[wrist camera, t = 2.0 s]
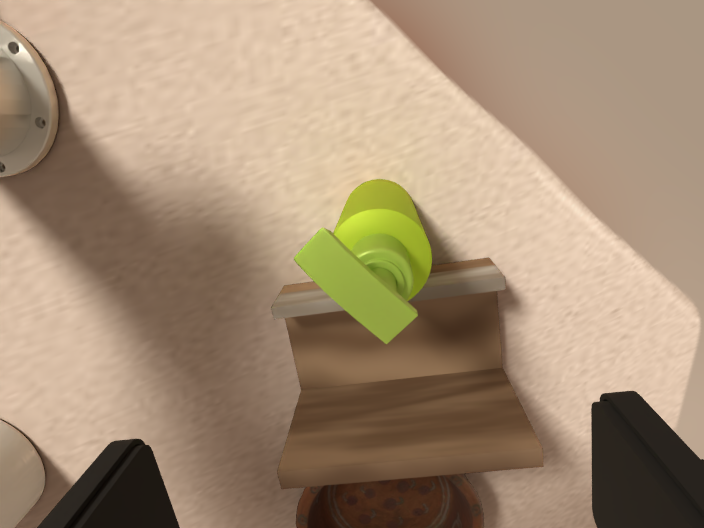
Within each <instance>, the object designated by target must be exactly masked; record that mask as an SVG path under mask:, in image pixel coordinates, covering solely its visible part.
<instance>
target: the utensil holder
mask: <svg viewBox="0 0 704 528" xmlns="http://www.w3.org/2000/svg"><path fill="white" fill-rule="evenodd" d="M44 486H45V471H44V467H43V464H42V461H41V458H40V456H39V455H38V453H37V451H36V450H35V448H34V447H33V445H32V444H31V443H30V441H29V440H28V439H27V438H26V437H25V436H24V435H23V434H21V433H20V432H19V431H18V430H16V429H15V428H14V427H12V426H11V425H9V424H7V423H6V422H4V421H2V420H0V528H15V527H16V525H17V524H18V523H19V522H20V521H21V520H22V519H23V517H24V516H25V515H26V514H27V513H28V512H29V511H30V509H31V508H32V507H33V506H34V505H35V503H36V502H37V501H38V500H39V498H40V496H41V495H42V493H43V490H44Z"/></svg>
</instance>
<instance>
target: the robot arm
mask: <svg viewBox="0 0 704 528" xmlns="http://www.w3.org/2000/svg"><path fill="white" fill-rule="evenodd" d="M58 118H59V112H58V100H57V96H56V92H55V88H54V84H53V81H52V79H51V77H50V74H49V72H48V70H47V68H46V66H45V64H44V63H43V61H42V59H41V58H40V56H39V55H38V53H37V52H36V51H35V49H34V48H33V47H32V46H31V45H30V44H29V42H28V41H27V40H26V39H25V38H24V37H23V36H21V35H20V34H19V33H18V32H17V31H16V30H14V29H13V28H12V27H10V26H9V25H7V24H5V23H4V22H2V21H1V20H0V177H6V176H12V175H17V174H20V173H22V172H25V171H28V170H29V169H31V168H32V167H34V166H35V165H37V164H38V163H39V162H40V161H41V160H42V159H43V158H44V157H45V156H46V155H47V153H48V151H49V150H50V148H51V146H52V144H53V142H54V139H55V136H56V132H57V128H58ZM591 411H592V510H593V516H594V519H595V523H596V525H597V528H704V460H703V459H702V460H700V458H699V457H698V456H697V455H696V454H695V453H694V452H693V451H692V450H691V449H690V448H689V447H688V446H687V445H686V444H685V443H684V442H683V441H682V439H680V437H679V436H678V435H677V434H676V433H675V432H674V431H673V430H672V429H671V428H670V427H669V426H668V425H667V424H666V422H665V421H664V420H663V419H662V418H661V417H660V416H659V415H658V414H657V413H656V412H655V411H654V410H653V409H652V408H651V407H650V406H649V404H648V403H647V402H646V401H645V400H644V399H643V398H642V397H641V396H640V395H639V394H638V393H637V392H635V391H625V392H614V393H604V394H602V395H601V397H600V402H594V403H593V404H592V409H591ZM37 528H180V527H179V524H178V521H177V519H176V516H175V513H174V510H173V507H172V505H171V502H170V499H169V496H168V493H167V491H166V488H165V485H164V482H163V479H162V476H161V474H160V471H159V468H158V465H157V462H156V460H155V457H154V454H153V451H152V449H151V447H150V446H149V445H145V443H144V442H143V441H142V440H141V439H130V440H119V441H114V442H111V443H110V444H109V445H108V446H107V447H106V448H105V449H104V450H103V452H102V453H101V454H100V455H99V456H98V457H97V459H96V460H95V461H94V462H93V463H92V464H91V465H90V467H89V468H88V469H87V470H86V471H85V472H84V474H83V475H82V476H81V477H80V478H79V479H78V481H77V482H76V483H75V484H74V485H73V486H72V488H71V489H70V490H69V491H68V492H67V493H66V495H65V496H64V497H63V498H62V499H61V500H60V502H59V503H58V504H57V505H56V506H55V507H54V509H53V510H52V511H51V512H50V513H49V514H48V516H47V517H46V518H45V519H44V520H43V521H42V523H41V524H40V525H39V526H38V527H37Z"/></svg>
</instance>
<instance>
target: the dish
mask: <svg viewBox="0 0 704 528" xmlns="http://www.w3.org/2000/svg"><path fill="white" fill-rule="evenodd" d="M296 526H297V528H483V526H484V514H483V509H482V504H481V501H480V499H479V496H478V494H477V492H476V491H475V489H474V488H473V486H472V485H471V483H470V482H469V481H468V479H467V478H466V476H465V473H463V474H452V475H440V476H428V477H417V478H405V479H393V480H382V481H370V482H359V483H347V484H335V485H324V486H312V487H306V488H305V489H304V491H303V493H302V496H301V498H300V501H299V503H298V508H297V514H296Z"/></svg>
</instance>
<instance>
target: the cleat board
mask: <svg viewBox="0 0 704 528" xmlns="http://www.w3.org/2000/svg"><path fill="white" fill-rule="evenodd" d="M499 290H506V287H505V277H504V276H503V274H502V273H501V272H500V271H499V269H498V268H497V267H496V266H495V264H494V263H493V262H492V261H491V259H490V258H483V259H476V260H469V261H461V262H454V263H447V264H439V265H432V266H431V270H430V274H429V277H428V279H427V281H426V283H425V284H424V286H423V287H422V289H421V290H420V291H419V292H418V293H417V294H416V295H415V296H414V297H413V298H411V299H410V300H409V301H407V302H408V303H409V304H411V305H412V306H413V307H414V308H415V309H416V310H417V313H418V316H417V317H416V318H415V319H414V320H413V321H412V322H411V323H409V324H408V325H407V326H406V327H405V328H404V329H403V330H402V331H401V332H400V333H399V334H397V335H396V336H395V337H394V338H393V339H392V340H391V341H390V342H389V343H388V344H385V343H384V342H383V341H382V340H380V339H379V338H378V337H377V336H375V335H374V334H373V333H372V332H371V331H369V330H368V329H367V328H366V327H364V326H363V325H362V324H361V323H360V322H358V321H357V320H356V319H355V318H354V317H352V316H351V315H350V314H349V313H348V312H347V311H345V310H344V309H343V308H342V307H341V306H340V305H339V304H337V303H336V302H335V301H334V300H333V299H332V298H331V297H330V296H329V295H328V294H327V293H325V292H324V291H323V290H322V289H321V288H320V287H319V286H318V285H317V284H316V283H315V282H307V283H300V284H293V285H285V286H284V287H283V289H282V290H281V292H280V294H279V295H278V297H277V299H276V301H275V302H274V304H273V306H272V307H271V309H272V314H273V318H274V319H281V318H285V321H286V325H287V329H288V334H289V338H290V343H291V347H292V351H293V356H294V360H295V364H296V369H297V373H298V378H299V382H300V386H301V393H300V396H299V399H298V403H297V406H296V410H295V413H294V416H293V420H292V423H291V426H290V430H289V433H288V437H287V440H286V443H285V447H284V450H283V454H282V457H281V460H280V464H279V467H278V471H277V474H278V478H279V481H280V485H281V489H289V488H300V487H312V486H324V485H335V484H347V483H359V482H370V481H382V480H393V479H405V478H417V477H428V476H440V475H452V474H463V473H475V472H486V471H498V470H510V469H521V468H533V467H543V448H542V446H541V444H540V442H539V440H538V438H537V436H536V434H535V432H534V430H533V428H532V426H531V424H530V422H529V420H528V418H527V416H526V414H525V412H524V410H523V408H522V406H521V404H520V402H519V400H518V398H517V396H516V394H515V392H514V390H513V388H512V386H511V384H510V382H509V380H508V378H507V376H506V374H505V372H504V370H503V368H502V356H501V342H500V328H499V315H498V301H497V291H499Z"/></svg>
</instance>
